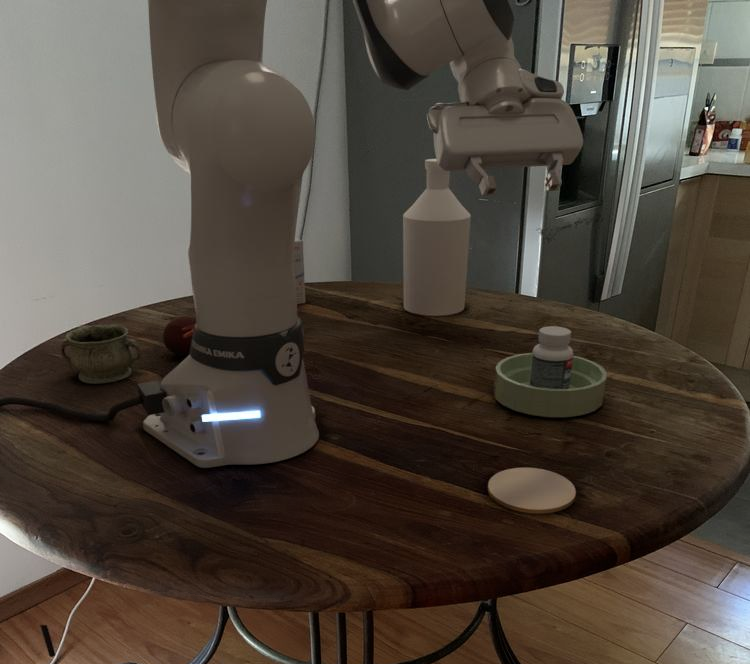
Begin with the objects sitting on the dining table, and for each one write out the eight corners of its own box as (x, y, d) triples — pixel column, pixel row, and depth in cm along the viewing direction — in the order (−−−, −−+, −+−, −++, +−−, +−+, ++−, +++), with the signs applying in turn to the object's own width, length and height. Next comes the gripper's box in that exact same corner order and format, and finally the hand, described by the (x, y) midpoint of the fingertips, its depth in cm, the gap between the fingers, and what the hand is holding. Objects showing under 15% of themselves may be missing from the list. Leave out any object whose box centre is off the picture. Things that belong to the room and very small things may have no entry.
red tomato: (198, 344, 119) (193, 307, 116) (229, 357, 114) (224, 318, 111) (156, 354, 115) (150, 316, 112) (186, 369, 109) (181, 329, 106)
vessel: (53, 385, 104) (42, 342, 101) (77, 364, 112) (67, 323, 109) (136, 385, 104) (128, 342, 100) (154, 364, 111) (148, 323, 108)
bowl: (474, 402, 97) (475, 374, 95) (524, 372, 107) (527, 345, 105) (574, 429, 90) (578, 399, 88) (619, 394, 99) (624, 366, 97)
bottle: (479, 308, 136) (488, 160, 123) (428, 319, 130) (433, 165, 117) (438, 295, 144) (443, 155, 132) (389, 305, 138) (389, 159, 126)
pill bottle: (568, 404, 95) (577, 338, 91) (527, 402, 96) (534, 336, 92) (567, 389, 100) (575, 325, 95) (528, 387, 101) (534, 323, 96)
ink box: (264, 309, 136) (258, 243, 131) (255, 303, 140) (249, 238, 134) (306, 303, 140) (303, 238, 134) (296, 297, 144) (292, 234, 138)
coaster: (471, 495, 76) (471, 491, 76) (513, 463, 82) (513, 459, 82) (551, 523, 71) (551, 519, 71) (589, 487, 77) (590, 483, 77)
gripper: (430, 85, 94) (456, 177, 91) (572, 82, 99) (602, 169, 96) (417, 122, 100) (441, 210, 96) (552, 117, 105) (579, 201, 102)
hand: (522, 189), depth 96 cm, fingers open, 8 cm apart
